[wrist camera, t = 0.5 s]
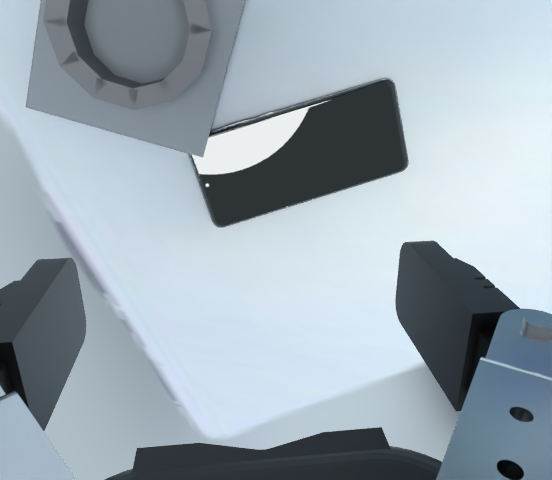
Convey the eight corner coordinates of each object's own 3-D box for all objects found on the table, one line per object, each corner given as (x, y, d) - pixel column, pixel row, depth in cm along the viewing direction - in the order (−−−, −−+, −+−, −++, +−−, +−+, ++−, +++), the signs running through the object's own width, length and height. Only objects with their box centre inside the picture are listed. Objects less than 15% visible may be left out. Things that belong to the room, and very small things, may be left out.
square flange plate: (67, -126, 30) (36, -162, 24) (258, -52, 32) (266, -71, 27) (33, 104, 34) (1, 115, 29) (203, 153, 37) (201, 170, 31)
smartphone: (411, 169, 38) (215, 231, 38) (406, 166, 39) (214, 226, 39) (394, 74, 36) (182, 139, 35) (389, 74, 37) (183, 137, 36)
